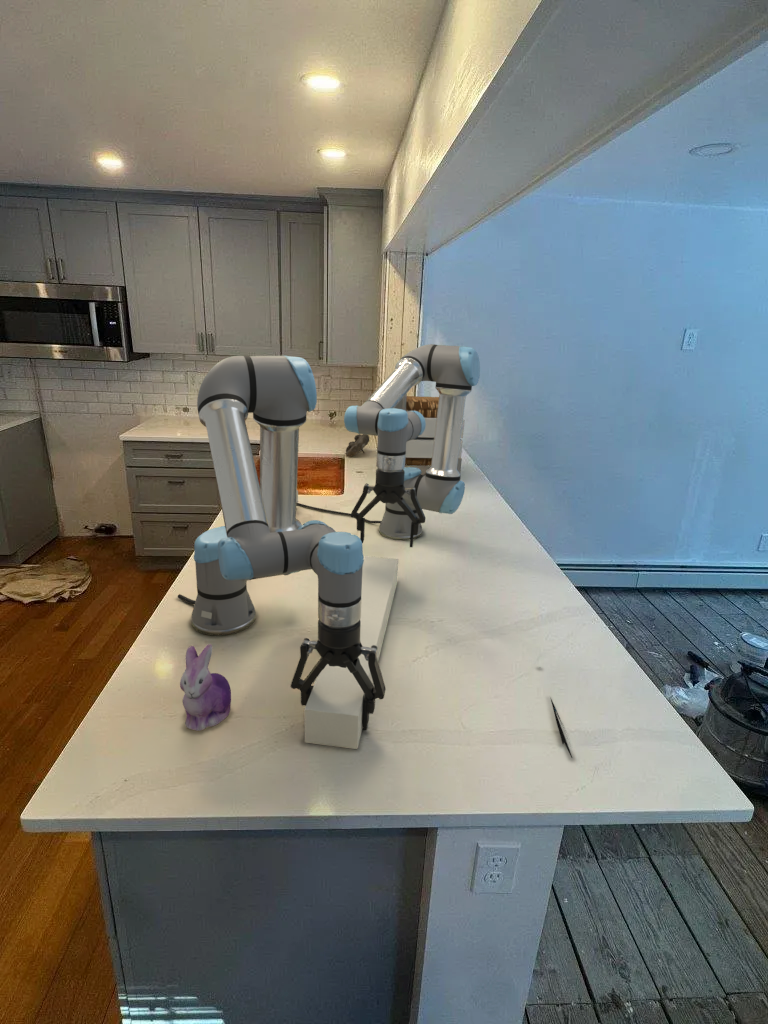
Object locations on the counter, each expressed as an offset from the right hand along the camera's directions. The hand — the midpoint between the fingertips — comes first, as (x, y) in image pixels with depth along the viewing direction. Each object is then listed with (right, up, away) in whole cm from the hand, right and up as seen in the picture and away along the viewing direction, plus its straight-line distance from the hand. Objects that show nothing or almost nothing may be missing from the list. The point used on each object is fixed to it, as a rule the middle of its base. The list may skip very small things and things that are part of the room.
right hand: (386, 543), depth 156 cm
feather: (+33, -31, -41) cm, 62 cm away
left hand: (-10, -31, -48) cm, 58 cm away
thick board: (-6, -22, -22) cm, 32 cm away
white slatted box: (+17, +28, +119) cm, 124 cm away
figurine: (-34, -30, -47) cm, 66 cm away
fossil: (-15, +41, +152) cm, 158 cm away
